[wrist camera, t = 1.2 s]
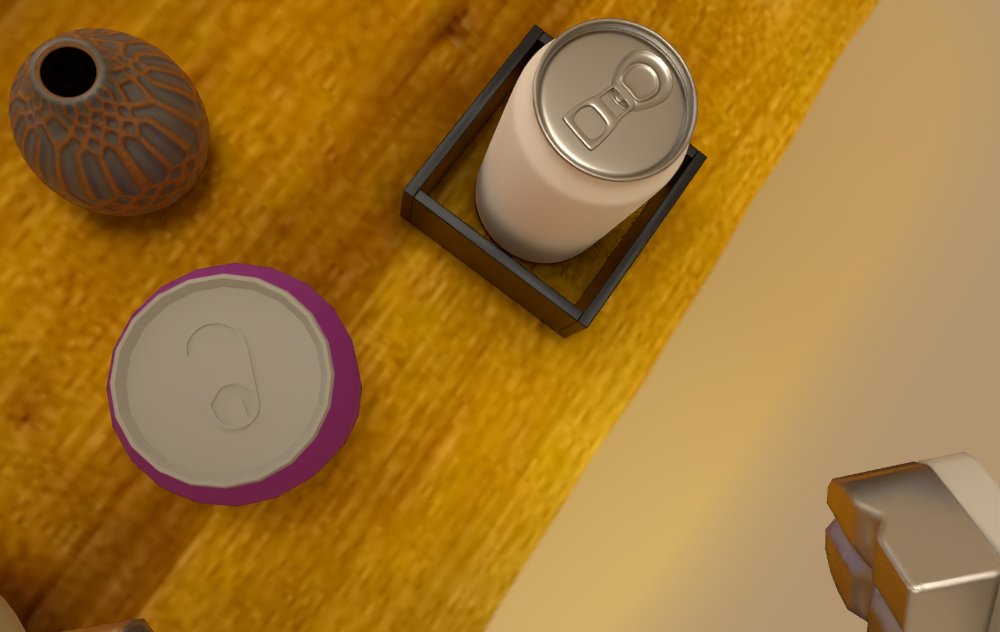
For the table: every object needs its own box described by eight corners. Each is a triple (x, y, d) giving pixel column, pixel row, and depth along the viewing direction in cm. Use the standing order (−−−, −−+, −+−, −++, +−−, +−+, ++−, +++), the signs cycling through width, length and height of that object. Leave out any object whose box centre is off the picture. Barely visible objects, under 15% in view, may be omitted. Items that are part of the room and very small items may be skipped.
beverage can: (387, 444, 35) (394, 455, 24) (214, 511, 34) (131, 557, 22) (327, 282, 36) (306, 214, 24) (155, 341, 35) (43, 299, 23)
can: (634, 208, 39) (748, 114, 27) (536, 293, 37) (611, 234, 26) (546, 106, 39) (622, -32, 27) (444, 188, 37) (478, 81, 26)
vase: (168, 54, 36) (105, -61, 28) (252, 181, 36) (215, 105, 27) (24, 129, 35) (-89, 33, 26) (111, 262, 35) (25, 209, 26)
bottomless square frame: (564, 338, 37) (587, 328, 33) (399, 214, 37) (403, 190, 33) (674, 183, 39) (707, 157, 35) (518, 63, 39) (535, 23, 35)
